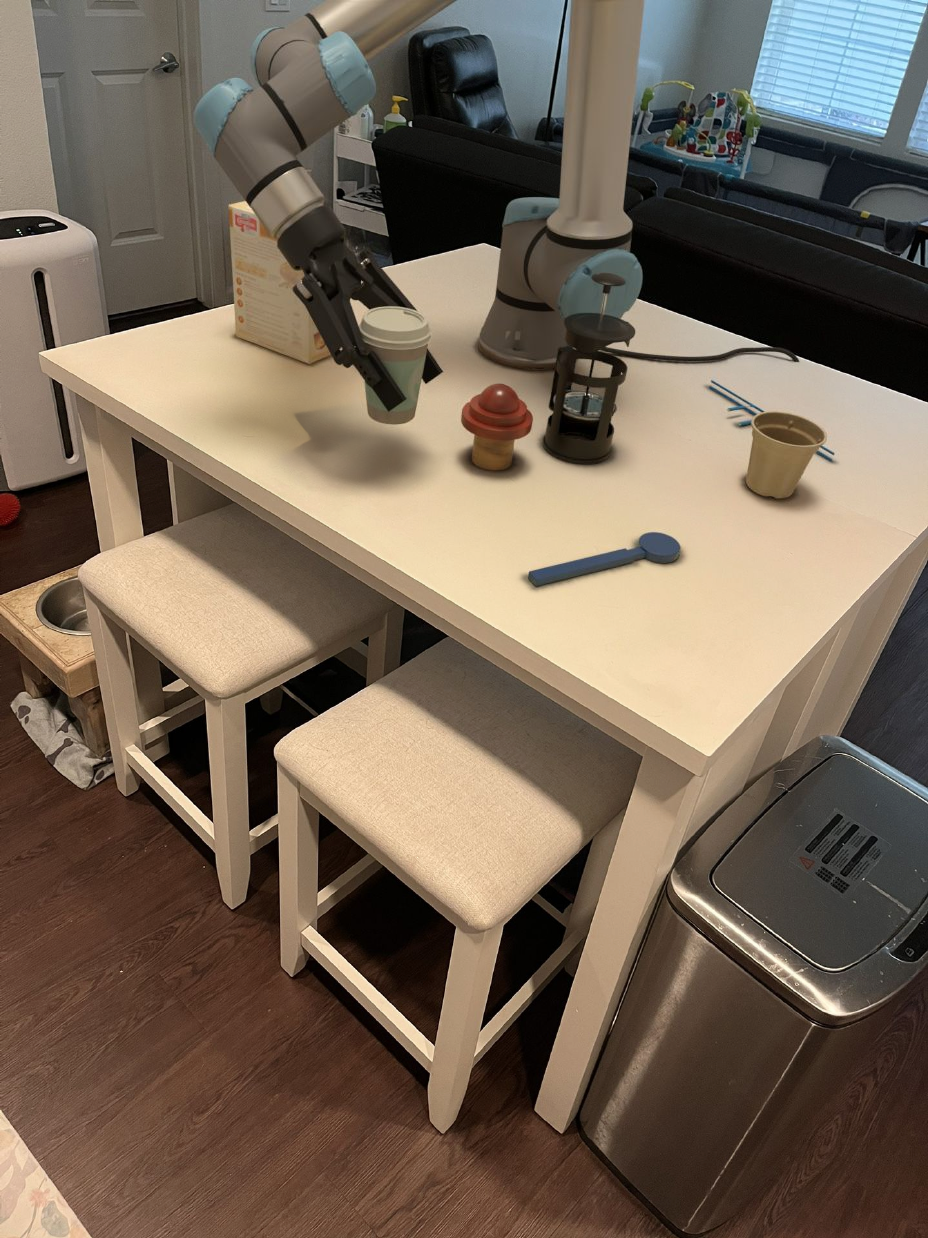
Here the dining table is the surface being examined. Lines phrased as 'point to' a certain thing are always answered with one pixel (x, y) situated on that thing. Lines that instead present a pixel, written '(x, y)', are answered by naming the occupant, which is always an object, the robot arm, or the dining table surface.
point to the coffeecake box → (268, 292)
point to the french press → (586, 384)
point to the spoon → (611, 559)
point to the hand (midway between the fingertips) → (416, 391)
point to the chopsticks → (753, 412)
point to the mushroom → (496, 425)
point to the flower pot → (781, 451)
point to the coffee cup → (396, 357)
